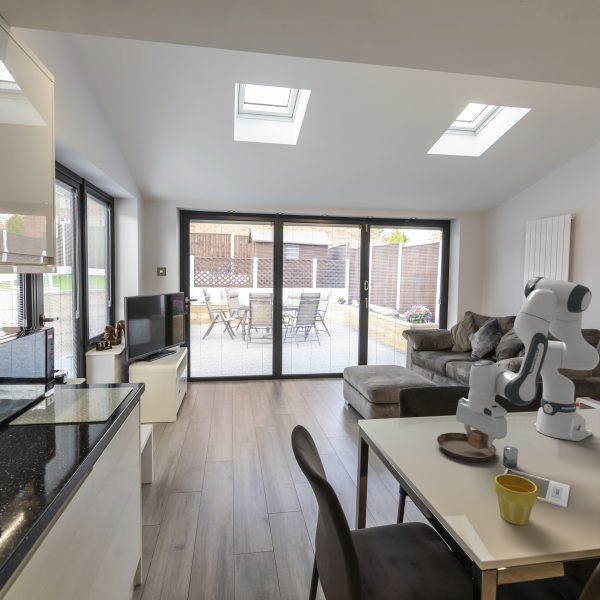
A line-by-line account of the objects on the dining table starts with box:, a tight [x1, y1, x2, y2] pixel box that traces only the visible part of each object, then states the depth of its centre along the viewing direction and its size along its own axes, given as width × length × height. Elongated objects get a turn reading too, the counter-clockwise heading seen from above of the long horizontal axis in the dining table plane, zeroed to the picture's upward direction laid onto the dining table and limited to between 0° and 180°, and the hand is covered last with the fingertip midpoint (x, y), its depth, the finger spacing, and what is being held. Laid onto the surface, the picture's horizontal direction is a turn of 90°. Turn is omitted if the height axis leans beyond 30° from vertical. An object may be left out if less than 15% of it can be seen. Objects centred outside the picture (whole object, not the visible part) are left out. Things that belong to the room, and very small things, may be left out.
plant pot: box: [493, 473, 539, 526], centre depth 109 cm, size 10×10×10 cm
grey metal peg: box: [502, 445, 519, 469], centre depth 140 cm, size 4×4×6 cm
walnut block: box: [468, 429, 489, 449], centre depth 148 cm, size 5×5×5 cm
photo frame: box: [503, 467, 571, 509], centre depth 126 cm, size 15×1×18 cm
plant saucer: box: [436, 432, 498, 463], centre depth 150 cm, size 21×21×3 cm
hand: (478, 441), depth 148 cm, fingers open, 7 cm apart
